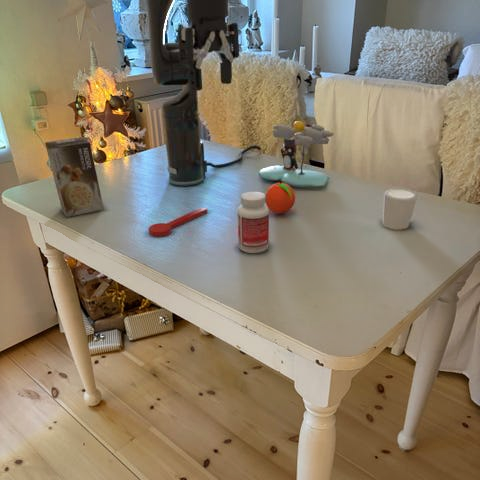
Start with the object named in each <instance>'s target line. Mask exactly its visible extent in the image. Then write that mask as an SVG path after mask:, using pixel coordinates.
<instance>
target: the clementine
mask: <svg viewBox="0 0 480 480" xmlns="http://www.w3.org/2000/svg"><path fill="white" fill-rule="evenodd" d="M295 202H296V194H295V191H294V189H293V188H292V186H290V185H287V184H285V183H283V182H276V183H274V184H272V185H271V186H269V188H267V190H266V192H265V205H266V206H267V207H268V209H269V211H272V213H274V214H286V213H287V212H289V211H291V209H292V208H293V207H294V205H295Z"/></svg>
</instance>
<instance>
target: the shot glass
mask: <svg viewBox="0 0 480 480" xmlns="http://www.w3.org/2000/svg"><path fill="white" fill-rule="evenodd" d="M417 199H418V193H416V192H415V191H413V190H409V189H405V188H390V189H387V190H385V191H384V193H383V207H382V209H383V210H382V225H383V226H384V227H385V228H388V229H390V230H399V231H400V230H405V229H408V228H409V227H410V224H411V220H412V217H413V213H414V210H415V206H416V203H417Z"/></svg>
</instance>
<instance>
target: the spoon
mask: <svg viewBox="0 0 480 480" xmlns="http://www.w3.org/2000/svg"><path fill="white" fill-rule="evenodd" d="M208 211H209V210H208V208H207V207H204V206H202V207H200V208H196V209H195V210H192V211H190V212H188V213H187V214H184V215H182V216H179V217H177V218H175V219H173V220H171V221H168V222H157V223H153V224H151V225H150V226H149V227H148V233H149V235H150V236H151V237H154V238H163V237H167V236H170V234H171V233H172V230H173V229H176V228H177V227H179V226H181V225H184V224H185V223H188V222H191V221H193V220H194V219H197V218H199V217H201V216H204V215H205V214H207V213H208Z"/></svg>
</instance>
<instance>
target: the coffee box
mask: <svg viewBox="0 0 480 480" xmlns="http://www.w3.org/2000/svg"><path fill="white" fill-rule="evenodd" d="M44 145H45V149H46V152H47V156H48V160H49V165H50V168H51V172H52V176H53V181H54V185H55V188H56V192H57V196H58V200H59V203H60V208H61V210H62V212H63V214H64V215H65V217H66V218H70V217H74V216H81V215H84V214H90V213H94V212H99V211H103V210H105V207H104V202H103V199H102V195H101V188H100V184H99V180H98V174H97V170H96V169H97V168H96V164H95V161H94V160H95V159H94V154H93V151H92V146H91V141H89V140H88V139H87V138H86V137H84V136H80V137H72V138H65V139H60V140H59V139H58V140H53V141H51V140H50V141H45V142H44Z"/></svg>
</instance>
